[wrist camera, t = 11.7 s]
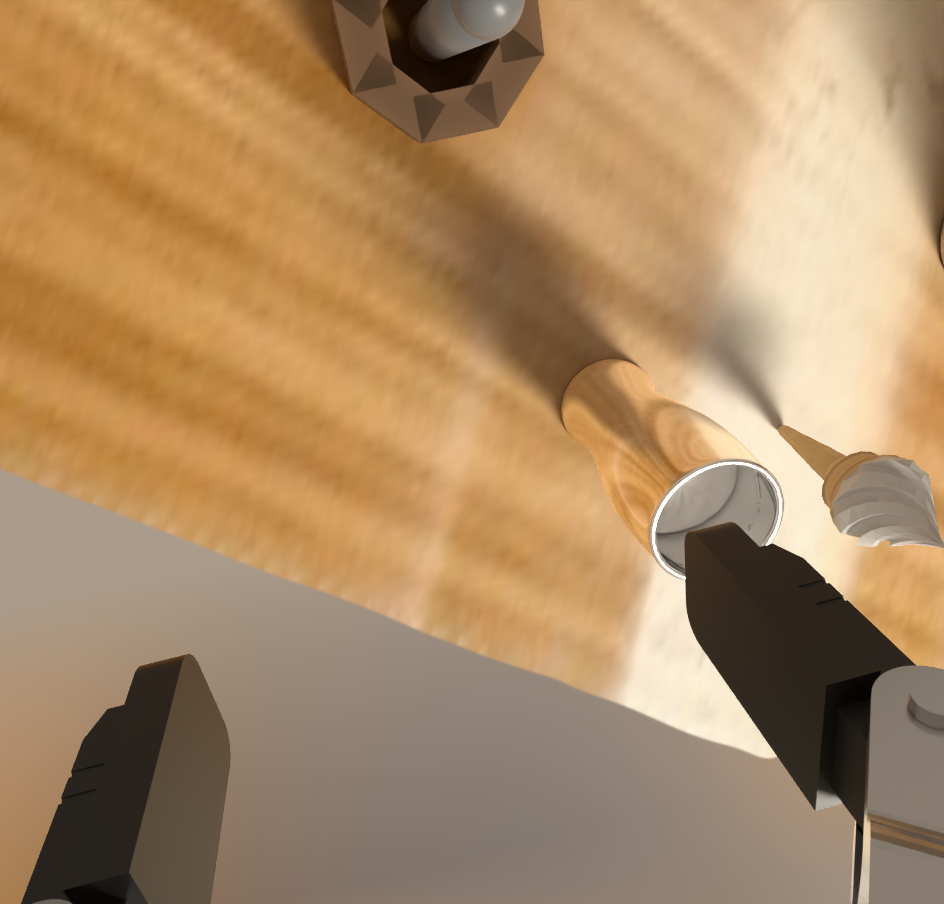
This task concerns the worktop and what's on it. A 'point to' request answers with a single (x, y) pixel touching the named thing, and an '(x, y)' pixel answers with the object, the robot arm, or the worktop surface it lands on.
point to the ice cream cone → (872, 494)
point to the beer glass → (667, 463)
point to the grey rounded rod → (460, 25)
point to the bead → (444, 110)
